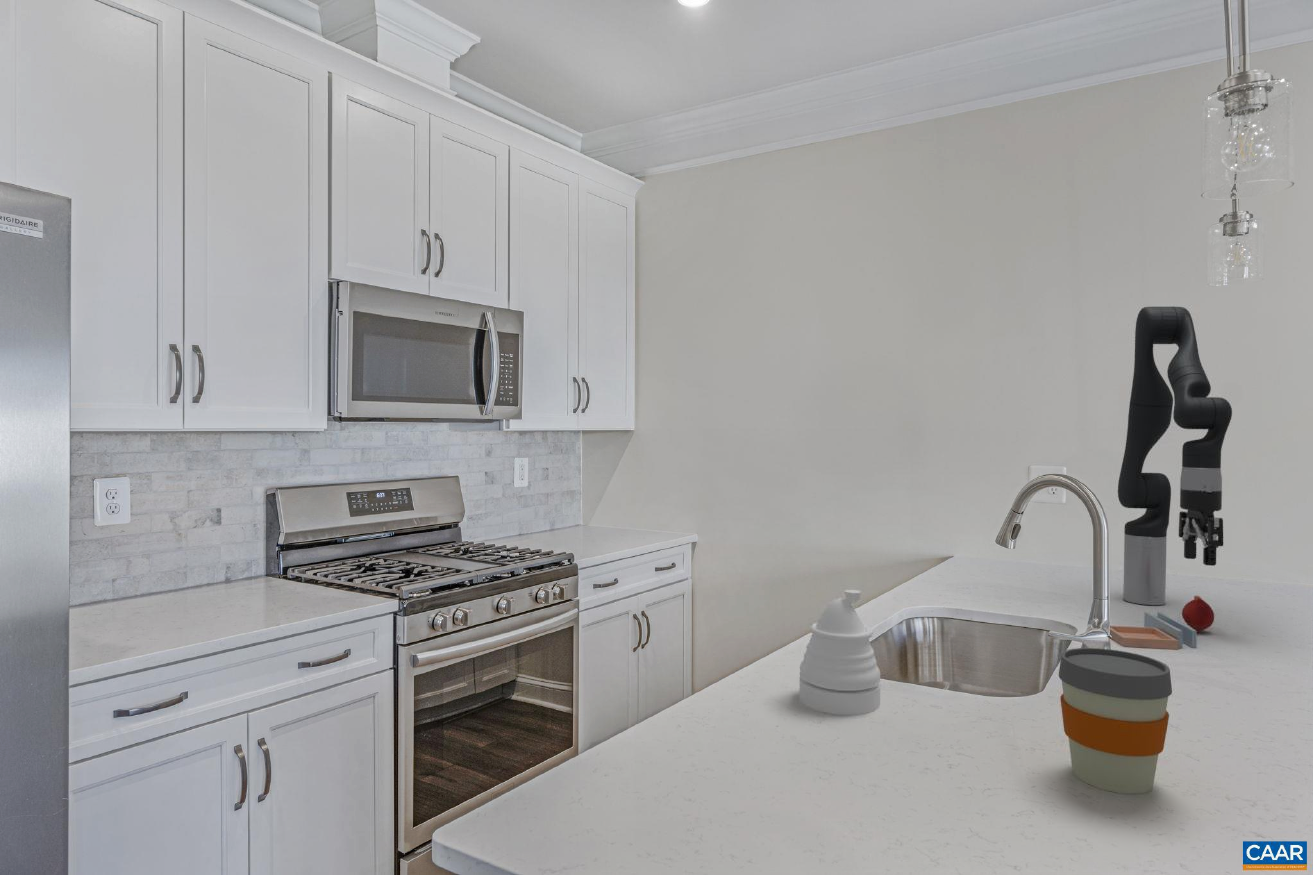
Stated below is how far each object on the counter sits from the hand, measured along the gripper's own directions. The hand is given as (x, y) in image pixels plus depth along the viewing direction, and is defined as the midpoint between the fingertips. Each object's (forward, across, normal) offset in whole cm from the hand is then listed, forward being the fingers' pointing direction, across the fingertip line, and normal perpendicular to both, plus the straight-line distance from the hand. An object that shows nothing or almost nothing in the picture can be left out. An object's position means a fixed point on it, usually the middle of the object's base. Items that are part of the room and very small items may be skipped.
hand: (1199, 561), depth 173 cm
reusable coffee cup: (+16, +82, -47) cm, 96 cm away
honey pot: (+16, +60, -80) cm, 101 cm away
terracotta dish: (+15, +11, -16) cm, 25 cm away
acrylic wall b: (+15, +7, -10) cm, 20 cm away
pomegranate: (+16, 0, 0) cm, 16 cm away
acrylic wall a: (+15, +6, -7) cm, 18 cm away
